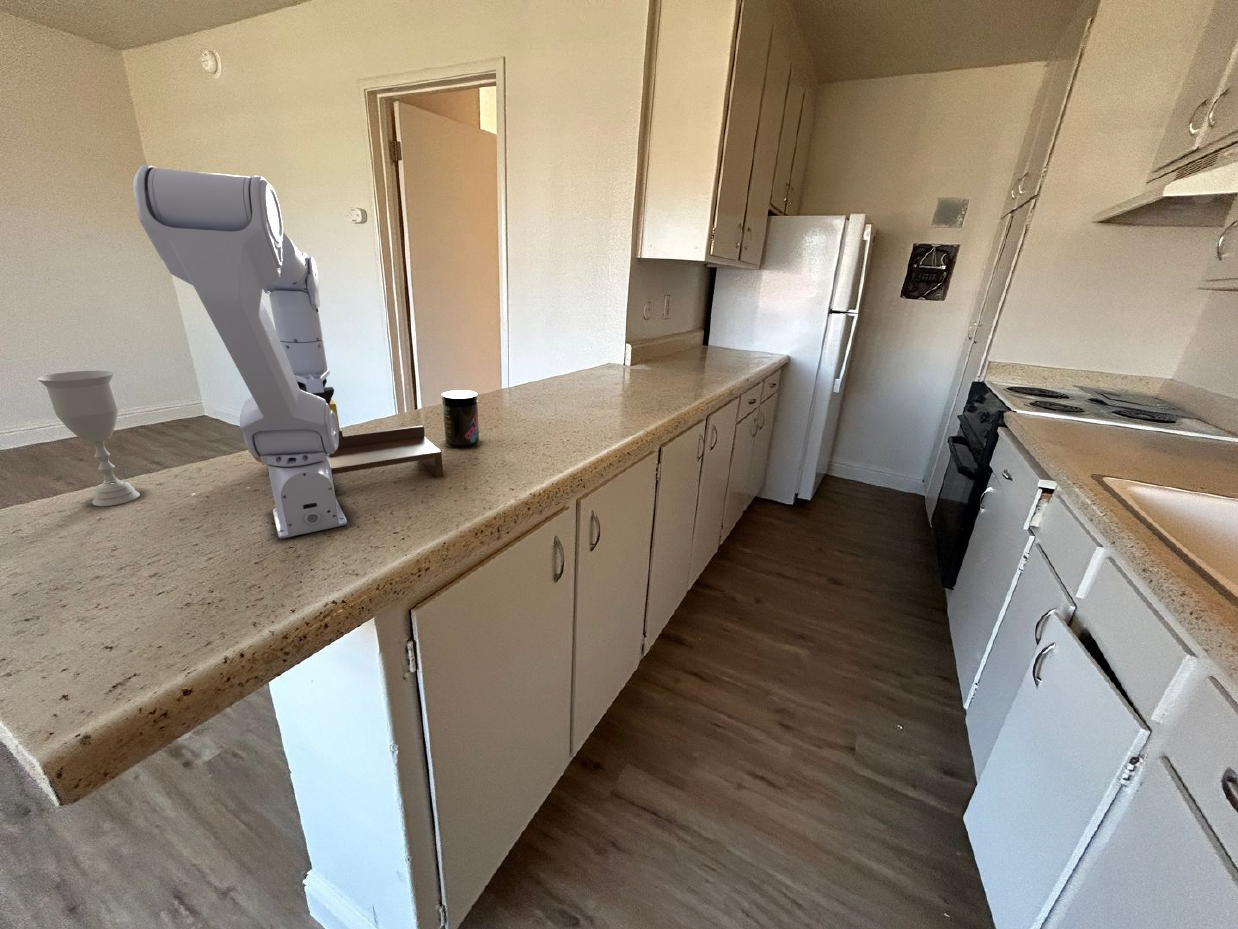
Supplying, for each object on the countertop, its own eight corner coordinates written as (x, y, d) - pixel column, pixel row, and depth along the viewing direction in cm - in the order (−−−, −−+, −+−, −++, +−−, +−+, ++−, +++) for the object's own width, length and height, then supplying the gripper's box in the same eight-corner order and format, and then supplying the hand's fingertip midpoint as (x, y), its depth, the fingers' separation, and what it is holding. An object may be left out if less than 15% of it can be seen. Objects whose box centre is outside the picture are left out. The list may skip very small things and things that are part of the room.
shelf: (443, 475, 88) (440, 440, 86) (326, 497, 78) (319, 457, 76) (425, 458, 96) (422, 425, 93) (316, 476, 85) (310, 439, 83)
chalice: (106, 512, 70) (63, 382, 64) (67, 505, 71) (21, 378, 65) (161, 491, 77) (127, 373, 71) (125, 486, 78) (88, 369, 72)
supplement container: (462, 451, 100) (459, 399, 97) (438, 444, 103) (434, 394, 100) (486, 443, 106) (484, 393, 102) (463, 436, 109) (460, 388, 105)
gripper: (263, 333, 77) (280, 419, 82) (273, 349, 67) (292, 446, 72) (315, 332, 81) (329, 413, 86) (333, 346, 71) (347, 438, 76)
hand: (315, 428), depth 79 cm, fingers closed on tape measure, 4 cm apart
